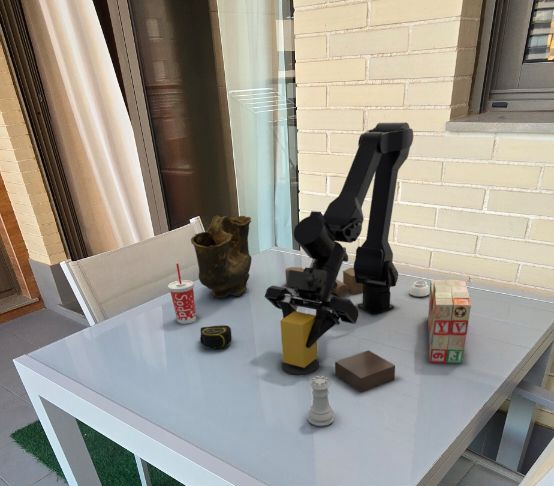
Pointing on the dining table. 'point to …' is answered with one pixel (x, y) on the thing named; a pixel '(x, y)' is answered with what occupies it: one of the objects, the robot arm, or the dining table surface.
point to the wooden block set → (342, 288)
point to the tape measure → (215, 336)
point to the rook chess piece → (320, 403)
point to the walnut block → (364, 370)
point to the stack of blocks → (448, 320)
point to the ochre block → (297, 339)
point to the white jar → (420, 289)
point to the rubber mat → (300, 368)
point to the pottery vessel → (224, 255)
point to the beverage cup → (183, 299)
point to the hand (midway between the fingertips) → (295, 344)
